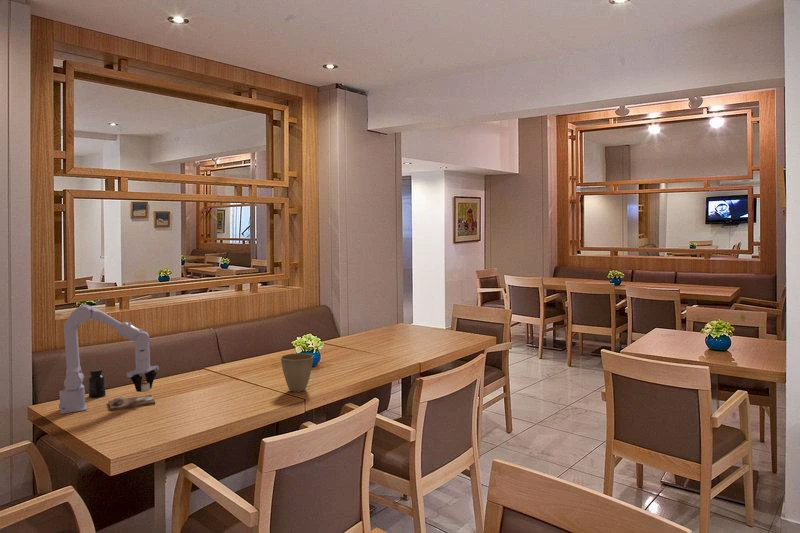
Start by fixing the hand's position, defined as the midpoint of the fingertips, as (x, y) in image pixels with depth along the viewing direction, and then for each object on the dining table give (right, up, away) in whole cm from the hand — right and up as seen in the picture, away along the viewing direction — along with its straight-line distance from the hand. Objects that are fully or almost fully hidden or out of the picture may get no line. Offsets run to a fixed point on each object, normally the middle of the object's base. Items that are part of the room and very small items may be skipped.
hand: (144, 389), depth 244 cm
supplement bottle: (-26, -5, +10) cm, 28 cm away
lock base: (-4, -5, -2) cm, 7 cm away
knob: (0, 0, 0) cm, 0 cm away
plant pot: (+65, -4, +15) cm, 67 cm away
